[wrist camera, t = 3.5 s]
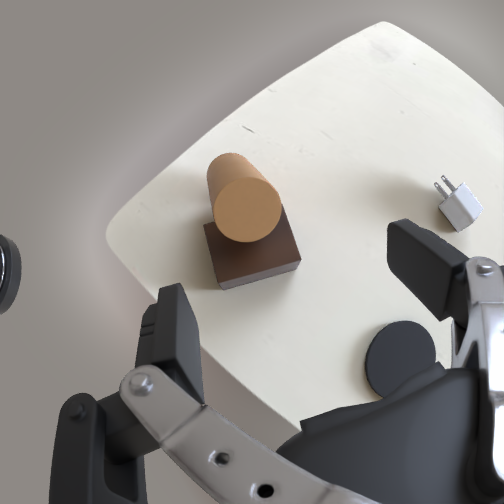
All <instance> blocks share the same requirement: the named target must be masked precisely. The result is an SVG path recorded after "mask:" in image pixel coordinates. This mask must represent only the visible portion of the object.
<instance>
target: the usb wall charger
mask: <svg viewBox="0 0 504 504" xmlns="http://www.w3.org/2000/svg"><path fill="white" fill-rule="evenodd" d="M443 177H444V178H445V180H444V179H443ZM441 178H442V180H443V181H444V182H445V184H446V185H447V186H448V187H449V188H450V190H451V191H452V193H451V194H450V195H449V196H448V195H447V193H446V192H445V191H444V190H443V189H442V187H441V186H440V185H439V184H438V183H437V182H436V183H435V184H434V186H435V187H436V188H437V189H438V191H439V192H440V193H441V194H442V196H443V197H444V198H445V200H444V201H443V202H442V204H441V205H440V206H439V208H440V210H441V211H442V212H443V213H444V215H445V216H446V217H447V218H448V220H449V221H450V222H451V224H452V225H453V226H454V228H455V229H456V230H457V232H460V231H462V230H463V229H465V228H466V227H468V226H469V225H471V224H472V223H473V222H474V221H475V220H476V219H477V217H478V216H479V214H480V213H481V212H482V210H483V207H482V205H481V204H480V203H479V201H478V200H477V199H476V197H475V196H474V195H473V194H472V192H471V191H470V190H469V188H468V187H467V186H466V185H465V183H464V182H463V183H462V184H461V185H460V186H459V187H457V188H456V189H455V188H454V186H453V185H452V184H451V183H450V181H449V180H448V179H447V178H446V177H445V176H444V175H443V176H442V177H441ZM436 184H437V185H438V187H437V186H436Z"/></svg>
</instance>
